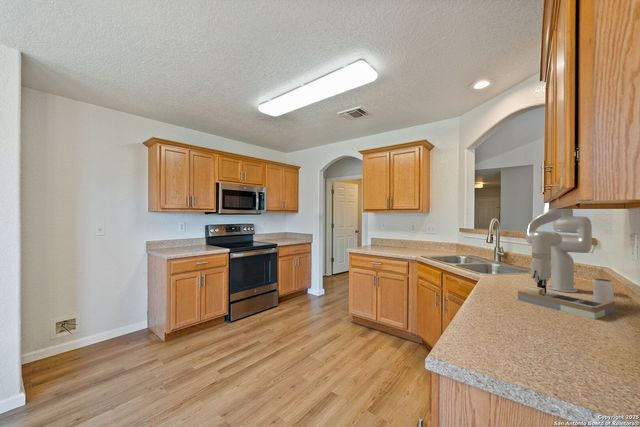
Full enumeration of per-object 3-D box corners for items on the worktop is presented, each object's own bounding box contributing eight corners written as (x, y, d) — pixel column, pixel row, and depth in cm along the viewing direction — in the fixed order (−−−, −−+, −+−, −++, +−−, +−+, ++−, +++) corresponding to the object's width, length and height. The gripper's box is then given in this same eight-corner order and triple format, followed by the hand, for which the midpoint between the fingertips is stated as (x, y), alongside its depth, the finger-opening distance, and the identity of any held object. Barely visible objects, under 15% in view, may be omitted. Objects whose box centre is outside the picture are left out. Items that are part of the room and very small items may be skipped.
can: (604, 303, 127) (603, 278, 127) (618, 307, 121) (617, 281, 121) (589, 302, 128) (589, 278, 128) (602, 307, 121) (602, 281, 122)
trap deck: (539, 295, 140) (539, 286, 141) (614, 311, 115) (614, 301, 115) (517, 299, 132) (517, 290, 132) (594, 319, 107) (594, 308, 107)
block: (530, 293, 134) (530, 285, 134) (544, 296, 129) (544, 288, 129) (524, 295, 131) (524, 287, 131) (538, 298, 126) (538, 290, 126)
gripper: (540, 254, 140) (540, 289, 140) (524, 256, 134) (525, 292, 133) (558, 256, 133) (558, 293, 133) (542, 258, 127) (542, 296, 127)
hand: (541, 292), depth 133 cm, fingers closed
